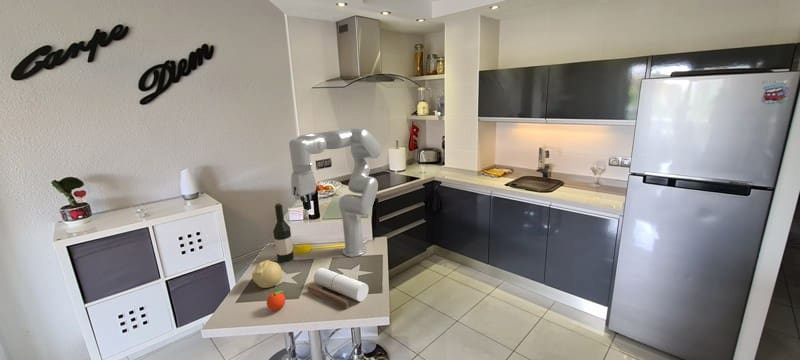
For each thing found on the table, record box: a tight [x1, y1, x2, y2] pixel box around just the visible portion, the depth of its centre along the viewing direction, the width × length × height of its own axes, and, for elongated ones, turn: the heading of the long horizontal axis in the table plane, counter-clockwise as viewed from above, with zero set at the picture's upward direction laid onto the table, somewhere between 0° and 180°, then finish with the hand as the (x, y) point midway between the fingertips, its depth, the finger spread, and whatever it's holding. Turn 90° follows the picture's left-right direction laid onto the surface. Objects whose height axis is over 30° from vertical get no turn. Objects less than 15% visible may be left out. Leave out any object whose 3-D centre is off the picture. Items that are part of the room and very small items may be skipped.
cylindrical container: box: [313, 267, 369, 302], centre depth 139 cm, size 7×7×25 cm
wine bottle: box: [272, 203, 295, 264], centre depth 166 cm, size 8×8×30 cm
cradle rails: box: [307, 284, 350, 310], centre depth 139 cm, size 13×22×3 cm, turn 56°
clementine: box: [266, 290, 286, 312], centre depth 130 cm, size 8×7×7 cm
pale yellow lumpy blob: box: [251, 259, 283, 289], centre depth 147 cm, size 11×12×11 cm
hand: (307, 209), depth 143 cm, fingers closed
